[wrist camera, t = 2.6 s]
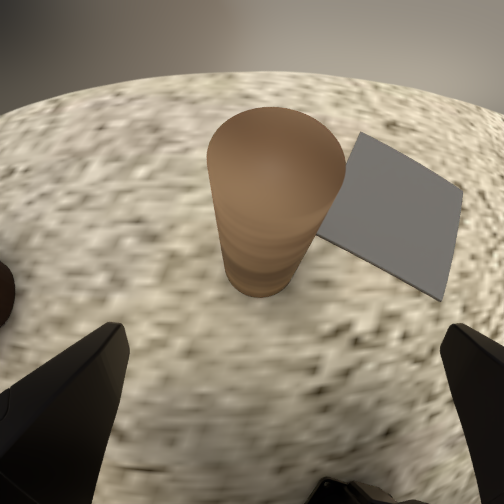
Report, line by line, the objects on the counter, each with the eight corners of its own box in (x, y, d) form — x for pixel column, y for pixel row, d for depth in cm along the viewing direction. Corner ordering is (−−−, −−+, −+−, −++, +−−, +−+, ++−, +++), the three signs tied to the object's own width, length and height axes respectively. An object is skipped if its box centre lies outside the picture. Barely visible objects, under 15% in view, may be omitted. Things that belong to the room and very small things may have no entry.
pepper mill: (274, 310, 21) (314, 244, 10) (211, 276, 22) (179, 178, 10) (305, 250, 23) (361, 140, 11) (245, 220, 24) (249, 92, 12)
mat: (440, 301, 22) (442, 300, 21) (313, 233, 23) (314, 231, 23) (461, 192, 26) (463, 191, 25) (359, 133, 27) (360, 131, 27)
